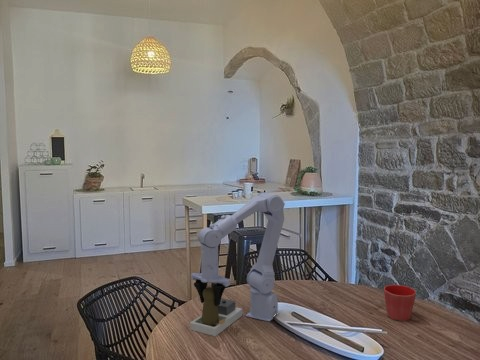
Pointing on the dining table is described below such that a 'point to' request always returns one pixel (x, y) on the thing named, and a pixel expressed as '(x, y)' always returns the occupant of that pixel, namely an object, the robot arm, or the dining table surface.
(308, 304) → the dining table surface
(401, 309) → the flower pot
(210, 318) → the brown pear
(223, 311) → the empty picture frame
